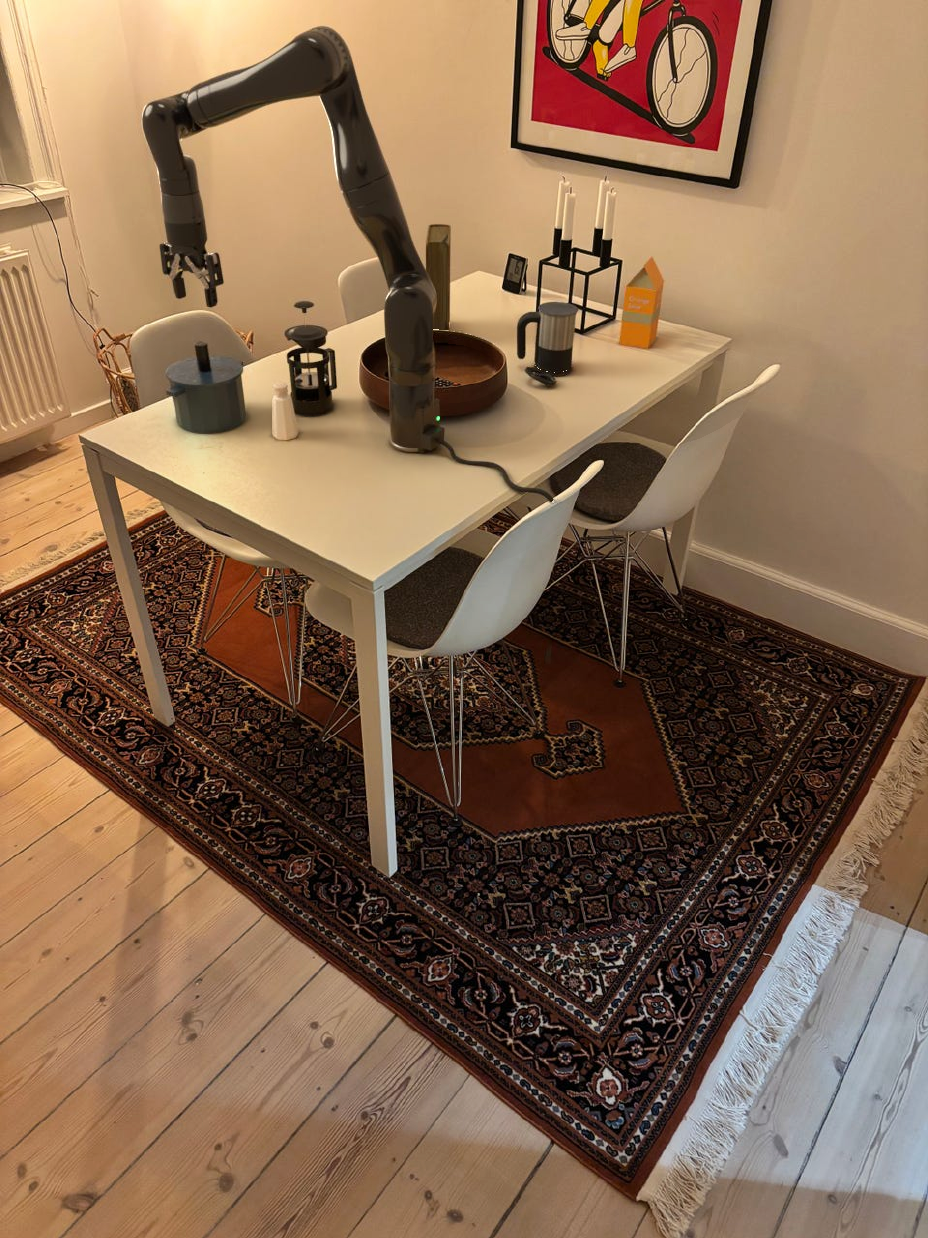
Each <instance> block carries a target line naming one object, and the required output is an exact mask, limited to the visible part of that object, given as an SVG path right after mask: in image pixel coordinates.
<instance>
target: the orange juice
mask: <svg viewBox="0 0 928 1238" xmlns="http://www.w3.org/2000/svg"><path fill="white" fill-rule="evenodd" d="M664 283H665V280H664V277H663V276H662V273H661V272H660V269H659V267H658V265H657V263H656V261H655V259H654V257H653V256H651V257H650V258H649V259H648V260H646V262H645V263H644V265H643V267H642V268H641V269H639V272H638V273H636V275H635V276H633V278H632V279H631V280H630V281H629V282H628V283H627V284H626V285H625V291H624V299H623V307H622V312H621V313H622V314H621V325H620V333H619V342H618V345H622V346H627V347H628V346H629V347H633V348H634V347H635V348H641V349H649V348H650V347H651V345H652V344H653V342H654V341H655V340H656V338H657V333H658V327H659V320H660V313H661V305H662V298H663V291H664Z"/></svg>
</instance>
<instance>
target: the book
mask: <svg viewBox="0 0 928 1238" xmlns="http://www.w3.org/2000/svg"><path fill="white" fill-rule="evenodd" d="M451 227H452V226H451V225H450V224H444V223H433V224H429V225H428V226H427V234H426V240H425V269H426V271H427V273H428V275H429V277H430V279H431V281H432V284H433V286H434V288H435V291H436V295H437V304H436V308H435V311H434V314H433V329H439V330H449V331H450V328H449V322H450V323H451V239H452V238H451V231H452V230H451V229H452V228H451Z"/></svg>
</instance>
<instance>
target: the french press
mask: <svg viewBox="0 0 928 1238" xmlns="http://www.w3.org/2000/svg"><path fill="white" fill-rule="evenodd" d="M314 306H315V303H314V302H312V301H309V300H300V301H297V302H296V301H295V303H293V308H295V309H301V313H302V314H303V322H304V324H300V325H299V324H298V325H295V326H291V327H289V328H287V329H286V330H285V331H284V333H283V334H284V337H285V338H286V340H287V342H288V341H293V342H294V343H295V344H297V345H298V346H299V347H298V348H294V349H292V350H289V351H288V352H287V353H286V361H287V364H288V371H289V381H290V394H289V395H290V396H291V399H292V403H293V408H294V413H295V415H297V416H301V417H320V416H324V415H326V414H327V415H328V414H329V413H330V412H332V411H333V409H334V407H335V404H334V402H333V392H332V391H334V390H336V389H337V388H338V380H337V379H338V378H337V364H336V351H335V349H332V348H330V347H327V348H321V347H323V346H325V345H326V344H327V336H328V333H329V331H328V329H327V328H325V327H323V326H321V325H316V324H307V316H306V313H307V311H308V310H307V309H310V308H313V307H314ZM302 354H303V355H304V354H306V358H307V362H303V361H302ZM310 354H317V355H322V359H321V360H317V361H310ZM292 357H293V360H292V359H291V358H292ZM329 367H330V371H329ZM303 369H304V370H307V371H306V372H303ZM311 369H316V371H311ZM330 383H331V384H330Z"/></svg>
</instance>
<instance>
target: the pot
mask: <svg viewBox="0 0 928 1238" xmlns="http://www.w3.org/2000/svg"><path fill="white" fill-rule="evenodd" d="M236 360H237V361H239V362H240V363H241V364H242V365H243V366H244V362H243V361H241V360H238V359H236ZM242 378H243V377H242V375H241V376H240V377H238V378H237V379H235V380H233V381H231V382H229V383H226V384H222V385H218V386H212V387H186V386H181V385H177V384H174V383H172V382H171V381H169V384H170V388H168V389H166V390H165V392H166V395H167V396H169V397H172V401H173V408H174V413H175V418H176V423H177V424H178V426H179V427H180V428H181V429H183V430H185V431H187V432H189V433H190V432H191V433H194V434H195V433H196V434H217V433H218V434H219V433H224V432H228V431H230V430H231V431H232V430H234V429H237V428H238V427H239V426H241V425H243V424H244V423H245V421H246V420H247V409H246V402H245V393H244V386H243V379H242Z"/></svg>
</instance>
